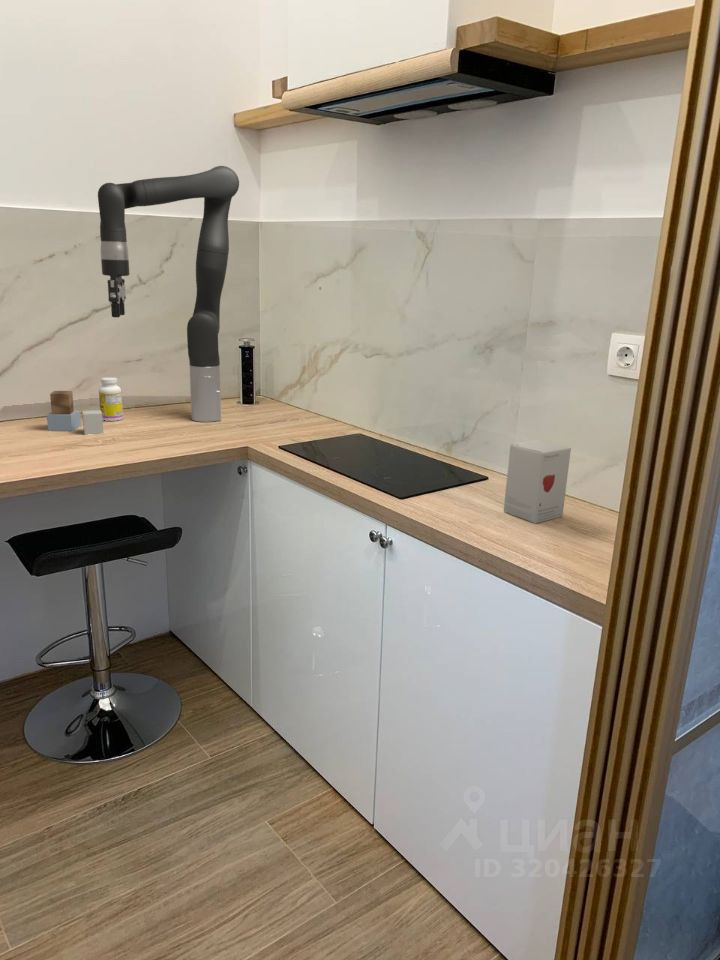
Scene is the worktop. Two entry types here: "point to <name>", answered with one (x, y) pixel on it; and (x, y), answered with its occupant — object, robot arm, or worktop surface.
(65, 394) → the walnut block
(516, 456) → the supplement box
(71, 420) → the base block
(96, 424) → the grey block
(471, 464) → the worktop surface
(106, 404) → the supplement bottle
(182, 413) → the worktop surface
